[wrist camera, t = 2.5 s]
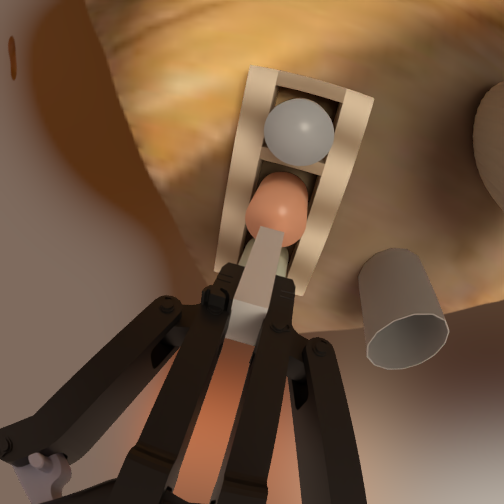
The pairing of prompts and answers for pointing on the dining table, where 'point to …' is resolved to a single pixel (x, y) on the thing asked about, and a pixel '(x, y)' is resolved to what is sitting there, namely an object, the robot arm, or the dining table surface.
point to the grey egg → (299, 132)
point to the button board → (256, 150)
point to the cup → (399, 310)
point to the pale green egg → (281, 264)
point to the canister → (491, 142)
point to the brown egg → (279, 206)
